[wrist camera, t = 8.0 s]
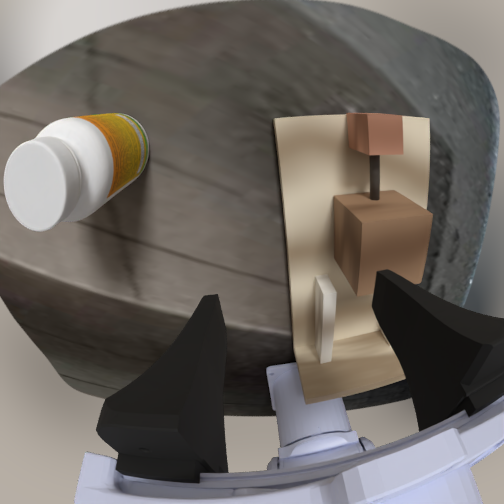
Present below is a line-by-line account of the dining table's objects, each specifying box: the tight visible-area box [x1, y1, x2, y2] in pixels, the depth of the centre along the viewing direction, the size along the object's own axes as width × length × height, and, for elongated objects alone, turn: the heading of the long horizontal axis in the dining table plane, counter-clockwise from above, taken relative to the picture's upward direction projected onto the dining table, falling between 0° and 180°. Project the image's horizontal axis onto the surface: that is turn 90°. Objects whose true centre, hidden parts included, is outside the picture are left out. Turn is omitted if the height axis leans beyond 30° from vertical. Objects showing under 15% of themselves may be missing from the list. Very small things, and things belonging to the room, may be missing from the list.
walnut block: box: [333, 113, 433, 297], centre depth 16 cm, size 11×5×5 cm, turn 8°
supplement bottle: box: [4, 113, 149, 231], centre depth 13 cm, size 5×5×10 cm
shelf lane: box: [273, 115, 430, 405], centre depth 19 cm, size 21×12×7 cm, turn 8°
